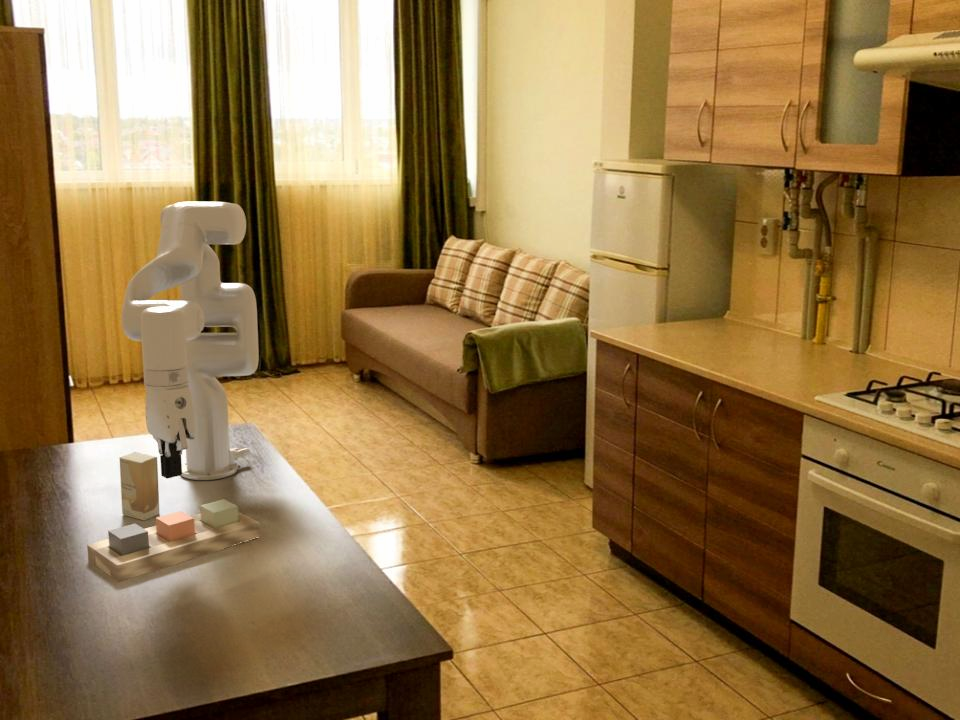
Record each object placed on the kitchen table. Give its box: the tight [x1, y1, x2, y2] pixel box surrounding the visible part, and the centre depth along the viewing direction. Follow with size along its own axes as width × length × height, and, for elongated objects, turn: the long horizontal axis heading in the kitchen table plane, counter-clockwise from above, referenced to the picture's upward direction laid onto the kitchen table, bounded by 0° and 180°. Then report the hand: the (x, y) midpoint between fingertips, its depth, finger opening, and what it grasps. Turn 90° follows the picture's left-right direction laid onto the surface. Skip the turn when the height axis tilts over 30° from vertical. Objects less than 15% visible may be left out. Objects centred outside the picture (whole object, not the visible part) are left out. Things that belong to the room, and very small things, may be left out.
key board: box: [86, 511, 261, 583], centre depth 187 cm, size 28×12×3 cm, turn 134°
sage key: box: [199, 498, 239, 529], centre depth 193 cm, size 5×5×4 cm
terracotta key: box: [155, 510, 195, 542], centre depth 187 cm, size 5×5×4 cm
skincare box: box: [119, 451, 160, 521], centre depth 202 cm, size 6×4×12 cm
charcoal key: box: [107, 523, 149, 556], centre depth 181 cm, size 5×5×4 cm
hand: (171, 475), depth 184 cm, fingers closed
